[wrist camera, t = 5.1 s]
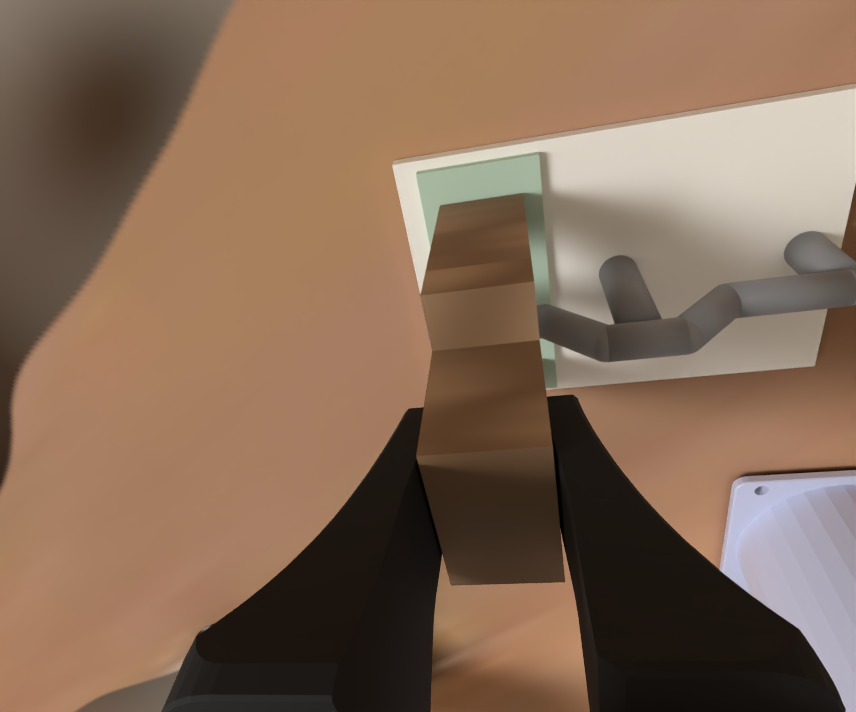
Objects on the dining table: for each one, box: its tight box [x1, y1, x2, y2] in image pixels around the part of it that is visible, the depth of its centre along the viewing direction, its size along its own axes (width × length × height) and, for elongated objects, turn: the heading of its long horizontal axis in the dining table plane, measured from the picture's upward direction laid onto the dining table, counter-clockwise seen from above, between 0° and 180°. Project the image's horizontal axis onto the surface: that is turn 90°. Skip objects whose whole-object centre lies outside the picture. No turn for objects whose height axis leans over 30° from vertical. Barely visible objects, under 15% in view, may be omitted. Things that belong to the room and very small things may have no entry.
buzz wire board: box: [392, 83, 856, 390], centre depth 17 cm, size 13×9×5 cm
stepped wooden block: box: [416, 193, 565, 585], centre depth 15 cm, size 2×7×9 cm, turn 11°
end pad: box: [416, 152, 557, 388], centre depth 19 cm, size 4×8×1 cm, turn 11°
